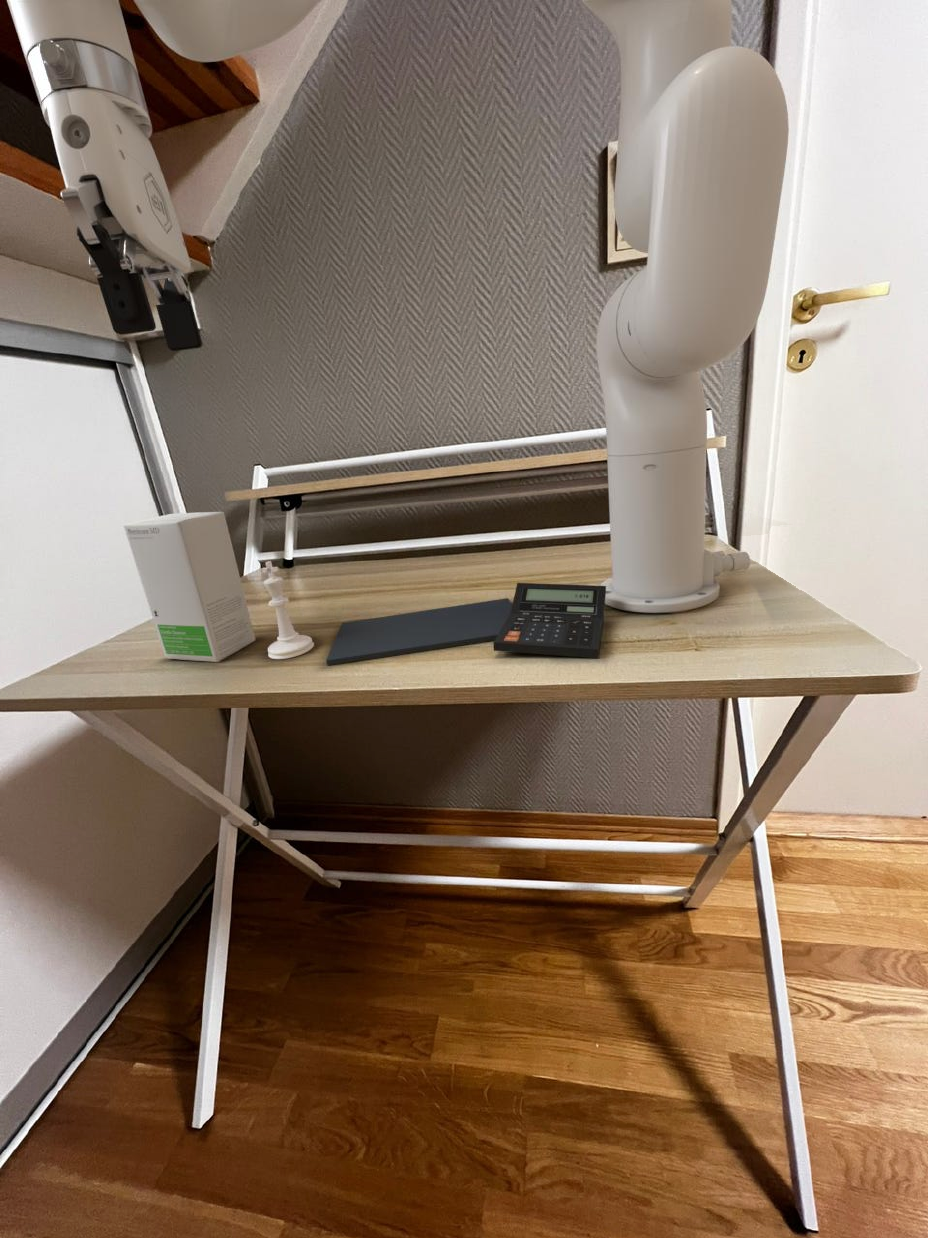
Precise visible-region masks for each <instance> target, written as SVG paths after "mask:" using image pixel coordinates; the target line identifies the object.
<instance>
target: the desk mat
mask: <svg viewBox="0 0 928 1238" xmlns="http://www.w3.org/2000/svg"><path fill="white" fill-rule="evenodd" d="M511 609H512V603H511V600H510V599H509V597H507V598H498V599H493V600H487V601H479V602H473V603H465V604H459V605H452V606H446V607H440V608H433V609H426V610H419V611H412V612H405V613H398V614H391V615H386V616H379V617H371V618H366V619H358V620H353V621H345V622H342V623H341V625H340V627H339V630H338V631H337V634H336V637H335V639H334V641H333V643H332V646H331V648H330V651H329V653H328V655H327V657H326V660H325V661H326V666H335V665H341V664H347V663H354V662H360V661H367V660H372V659H380V658H386V657H394V656H400V655H407V654H413V653H420V652H426V651H434V650H441V649H447V648H452V647H460V646H467V645H474V644H479V643H485V642H492V641H493V642H494V640H495V639H496V637H497V635H498V634H499V632H500V630H501V629H502V627H503V625H504V624H505V622H506V620H507V618H508V617H509V615H510V613H511Z"/></svg>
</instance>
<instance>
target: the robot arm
mask: <svg viewBox="0 0 928 1238" xmlns="http://www.w3.org/2000/svg"><path fill="white" fill-rule="evenodd" d="M321 1H322V0H133V2H134V4H135V5H136V7H137V8H138V9H139V11H140V12H141V14H142V15H143V17H144V18H145V20H146V21H147V23H148V24H149V26H150V27H151V28H152V30H154V32H155V33H156V35H157V36H158V37H159V39H160V40H161V41H162V42H163V44H165V45H166V46H167V47H168V48H169V49H171V50H172V51H173V52H174V53H176V54H178V55H179V56H181V57H183V58H186V59H187V60H190V61H194V62H199V63H212V62H215V63H216V62H222V61H225V60H228V59H232V58H235V57H238V56H240V55H244V54H246V53H248V52H251V51H254V50H258V49H259V48H262V47H264V46H267V45H269V44H271V43H273V42H275V41H277V40H280V39H281V38H283V37H284V36H286V35H287V34H289V33H290V32H291V31H293V30H294V29H295V28H297V27H298V25H300V24H301V23H302V22H303V21H304V20H305V19H306V18H307V17H308V15H310V13H311V12H312V11H313V10H314V9H315V8H316V7H317V6H318V5H319V3H320V2H321ZM580 1H581V2H582V3H583V4H584V6H585V7H586V8H587V9H589V10H590V11H591V12H592V13H593V14H594V15H595V16H596V17H597V18H598V19H599V20H600V21H601V22H602V23H603V24H604V25H605V26H606V28H607V29H608V30H609V32H610V33H611V34H612V36H613V38H614V40H615V42H616V45H617V48H618V53H619V57H620V58H619V59H620V103H619V104H620V105H619V106H620V107H619V119H618V122H619V124H618V136H617V138H618V139H617V150H616V151H617V154H616V166H615V179H614V191H613V192H614V193H613V195H614V196H613V207H614V218H615V222H616V226H617V229H618V231H619V234H620V235H621V237H622V238H623V241H624V242H626V243H627V245H628V246H630V247H631V249H633V250H635V251H637V252H640V253H644V254H647V259H646V265H645V266H643V267H642V268H641V269H639V270H638V271H636V272H635V273H634V274H632V275H631V276H630V277H629V278H627V279H626V280H624V282H622V283H621V284H620V285H619V286H618V287H617V289H616V290H615V291H614V292H613V293H612V295H610V297H609V299H608V300H607V302H606V304H605V306H604V308H603V310H602V313H601V314H600V316H599V317H600V318H599V320H598V324H597V325H598V326H597V330H596V337H595V339H596V340H595V351H596V362H597V367H598V375H599V379H600V385H601V392H602V398H603V399H602V400H603V407H604V417H605V419H604V420H605V433H606V459H607V463H606V464H607V484H608V487H607V488H608V510H609V511H608V513H609V534H610V557H611V559H610V560H611V577H609V578H607V579H605V580H604V581H602V582H601V583H600V584H599V586H606V596H605V606H606V605H607V606H608V607H611V608H614V609H617V610H621V611H626V612H631V613H640V614H641V613H642V614H668V613H679V612H684V611H690V610H694V609H698V608H702V607H704V606H707V605H709V604H711V603H713V602H714V601H715V600H716V599H717V598H718V597H720V582H719V581H718V580H717V579H716V577H720V576H721V574H722V573H723V572H738V571H744V570H748V569H749V568H750V566H751V557H750V555H749V553H748V552H747V551H740V552H733V553H728V554H725V551H724V550H719V551H713V552H712V551H710V550H707V549H705V543H706V542H705V537H706V536H705V535H706V533H705V532H706V490H707V489H706V485H707V444H708V416H707V403H706V398H705V392H704V387H703V384H702V383H703V382H702V379H701V375H700V374H701V373H700V371H704V370H706V369H709V368H712V367H715V366H717V365H719V364H721V363H722V362H725V361H726V360H727V359H728V358H730V357H731V356H732V355H734V354H735V353H736V352H737V351H738V350H739V349H740V348H741V347H742V346H743V344H744V343H746V341H747V339H748V338H749V337H750V335H751V333H752V332H753V330H754V328H755V326H756V324H757V322H758V320H759V317H760V314H761V311H762V309H763V305H764V302H765V298H766V293H767V289H768V283H769V278H770V272H771V265H772V258H773V253H774V246H775V239H776V232H777V225H778V217H779V212H780V205H781V199H782V198H781V197H782V193H783V192H782V190H783V183H784V178H785V171H786V165H787V164H786V163H787V154H788V145H789V132H790V130H789V129H790V128H789V127H790V126H789V111H788V105H787V101H786V95H785V92H784V91H785V90H784V89H783V86H782V85H783V84H782V83H781V81H780V78H779V75H778V74H777V73H776V71H775V68H774V67H773V66H772V65H771V63H770V62H769V61H768V60H767V59H766V58H765V57H764V56H763V55H762V54H761V53H759V52H757V51H755V50H754V49H751V48H748V47H745V46H740V45H732V38H733V37H732V35H733V7H732V5H733V4H732V0H580ZM6 2H7V5H8V8H9V11H10V15H11V18H12V21H13V24H14V27H15V31H16V33H17V36H18V39H19V40H18V41H19V42H20V46H21V49H22V52H23V56H24V58H25V61H26V64H27V68H28V71H29V74H30V77H31V81H32V84H33V87H34V90H35V93H36V97H37V99H38V102H39V105H40V109H41V111H42V115H43V119H44V121H45V123H46V124H47V126H48V127H49V129H50V131H51V135H52V140H53V144H54V148H55V152H56V156H57V160H58V163H59V167H60V171H61V175H62V179H63V182H64V186H65V188H64V189H62V190H61V191H60V197H61V200H62V202H63V203H64V205H65V208H66V209H67V211H68V213H69V215H70V217H71V219H72V221H73V223H74V224H75V226H76V236H78V241H79V242H80V243H81V244H82V245H83V247H84V248H85V250H86V251H87V253H88V256H89V257H88V264H89V267H90V269H91V271H92V273H93V274H94V275H95V276H96V279H97V283H98V286H99V289H100V292H101V293H100V294H101V296H102V299H103V302H104V305H105V309H106V312H107V314H108V317H109V318H108V319H109V320H110V324H111V327H112V329H113V332H114V333H115V334H118V335H121V336H125V335H132V334H139V333H147V332H153V331H155V330H156V328H157V324H156V322H155V318H154V315H153V310H152V308H151V307H152V306H151V304H150V301H149V297H148V294H147V291H146V287H145V283H144V280H143V279H146V281H147V283H148V285H149V286H150V288H151V290H152V292H153V294H154V295H155V297H156V299H157V302H158V304H156V305H155V308H156V311H157V315H158V318H159V321H160V326H161V328H162V332H163V336H164V339H165V342H166V346H167V349H168V350H170V351H172V352H179V351H180V352H181V351H187V350H195V349H201V348H202V347H203V340H202V337H201V332H200V328H199V325H198V321H197V317H196V314H195V311H194V307H193V303H192V296H191V293H190V292H189V289H188V288H189V282H188V281H187V279H186V277H185V274H188V273H189V272H190V271H191V268H192V264H191V261H190V256H189V253H188V250H187V247H186V242H185V240H184V236H183V233H182V229H181V227H180V224H179V220H178V216H177V214H176V210H175V207H174V204H173V200H172V197H171V194H170V192H169V189H168V186H167V183H166V179H165V177H164V174H163V170H162V168H161V165H160V163H159V160H158V158H157V155H156V153H155V149H154V148H153V144H152V143H151V141H150V137H152V134H153V125H152V121H151V118H150V114H149V110H148V107H147V102H146V100H145V95H144V92H143V91H144V90H143V87H142V84H141V81H140V76H139V72H138V68H137V65H136V61H135V57H134V54H133V50H132V46H131V43H130V39H129V35H128V32H127V31H128V30H127V27H126V24H125V20H124V16H123V11H122V8H121V4H120V1H119V0H6ZM159 280H164V283H163V286H162V284H161V282H160V281H159Z"/></svg>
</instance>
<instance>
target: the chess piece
mask: <svg viewBox="0 0 928 1238" xmlns="http://www.w3.org/2000/svg"><path fill="white" fill-rule="evenodd" d="M264 564H265V567H262V568H261V572H262V574H267V575H268V577H267V578H266V579H264V580H263V582H262V585H263V587H264V588H265V589H266V590H267V592H268V594H269V595H270V597H271V599H270V600H269V601H268V604H267V605H268V606H269V607H275V614H276V621H277V629H278V636H277V637H276V640H275V641H274V642H272V643H271V644H270V645H268V647H267V652H268V654H267V656H268V658H270V659H273V660H286V659H291V658H295V657H299V656H301V655H303V654H306V653H307V652H310V651H311V650H312V649H314V646H315V642H313V638H312V637H311V636H309V635H305V634H299V632H297V631H296V630H295V628H294V626H293V624H292V622H291V619H290V616H289V614H288V611H287V609H286V606H285V604H288V603H289V602H290V599H289V598H288V597H287V596H284V595H283V587H284V578H283V577H281V576H276V574H275V573H278V572H279V571H280V569H279V566H273V563H272V561H271V560H270V561H266V562H264Z"/></svg>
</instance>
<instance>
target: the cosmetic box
mask: <svg viewBox="0 0 928 1238" xmlns="http://www.w3.org/2000/svg"><path fill="white" fill-rule="evenodd" d="M123 528H124V532H125V534H126V537H127V541H128V543H129V547H130V551H131V554H132V557H133V560H134V562H135V566H136V569H137V572H138V575H139V578H140V581H141V585H142V588H143V592H144V594H145V598H146V601H147V604H148V608H149V611H150V614H151V617H152V620H153V624H154V626H155V630H156V632H157V636H158V639H159V640H158V641H159V642H160V645H161V649H162V652H163V655H164V658H165V659H168V660H180V661H181V660H183V661H199V662H211V663H219V662H221V661H222V660H225V659H226V658H227V657H229V656H231V655H233V654H234V653H236V652H238V651H240V650H242V649H244V648H245V647H247V646H249V645H250V644H252V643H254V642H255V641H256V636H255V632H254V627H253V624H252V620H251V615H250V612H249V608H248V604H247V601H246V600H247V599H246V595H245V592H244V588H243V583H242V580H241V579H242V578H241V576H240V571H239V567H238V564H237V560H236V556H235V551H234V547H233V544H232V539H231V535H230V532H229V527H228V522H227V519H226V514H225V512H224V511H207V512H206V511H204V512H203V511H202V512H200V511H199V512H198V511H197V512H181V513H167V514H164V515H159V516H155V517H150V518H146V519H142V520H138V521H132V522H129V523H126V524H123Z"/></svg>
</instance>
